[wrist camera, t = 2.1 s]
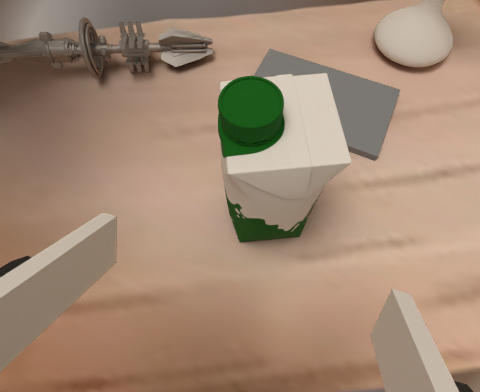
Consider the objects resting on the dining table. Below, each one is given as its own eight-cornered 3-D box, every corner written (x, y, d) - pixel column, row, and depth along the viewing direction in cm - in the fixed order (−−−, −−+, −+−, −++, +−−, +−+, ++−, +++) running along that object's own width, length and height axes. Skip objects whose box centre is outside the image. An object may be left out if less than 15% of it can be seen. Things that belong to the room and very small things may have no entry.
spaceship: (-50, 12, 40) (-87, 29, 34) (208, 9, 45) (214, 24, 39) (-17, 71, 46) (-43, 94, 40) (211, 63, 50) (215, 83, 45)
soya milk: (226, 183, 38) (207, 51, 20) (297, 176, 38) (343, 39, 20) (232, 251, 34) (216, 167, 16) (309, 243, 35) (381, 152, 16)
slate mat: (236, 110, 42) (236, 105, 42) (269, 54, 47) (269, 48, 46) (374, 160, 39) (377, 156, 38) (397, 94, 43) (400, 89, 42)
